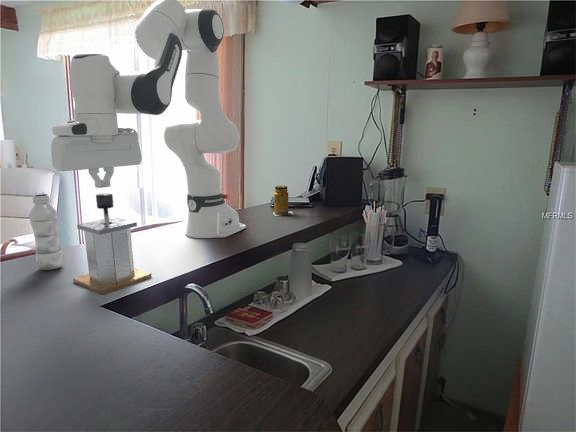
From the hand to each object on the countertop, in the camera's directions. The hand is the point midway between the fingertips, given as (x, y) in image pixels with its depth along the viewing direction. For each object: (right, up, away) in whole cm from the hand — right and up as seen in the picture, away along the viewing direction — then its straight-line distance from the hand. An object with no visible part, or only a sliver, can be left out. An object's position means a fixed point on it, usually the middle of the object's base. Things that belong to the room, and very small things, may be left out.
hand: (103, 187), depth 96 cm
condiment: (+42, -6, +78) cm, 89 cm away
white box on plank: (0, -23, +5) cm, 23 cm away
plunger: (0, -18, +4) cm, 19 cm away
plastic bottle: (-20, -21, +13) cm, 32 cm away
